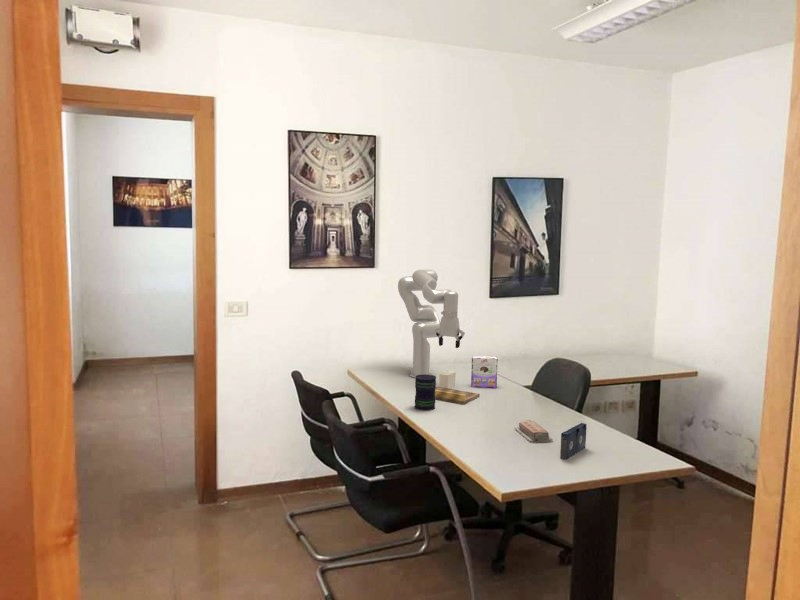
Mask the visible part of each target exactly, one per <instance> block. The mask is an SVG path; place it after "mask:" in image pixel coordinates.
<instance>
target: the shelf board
mask: <svg viewBox="0 0 800 600" xmlns="http://www.w3.org/2000/svg"><path fill="white" fill-rule="evenodd" d="M480 395H481V394H480V393H478V392H477V393H476V392H471V391H465V390H461V389H460V390H459V389H455V388H453V389H452V388H451V389H448V388H442V387H439V386H436V389H435V401H436V400H438V401H442V402H448V403H453V404H458V403H459V405H466V404H469V403H470V402H472V401H474V400H476V399H478V398H479V397H481V396H480ZM477 397H478V398H477ZM475 398H476V399H475Z"/></svg>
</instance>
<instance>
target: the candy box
mask: <svg viewBox="0 0 800 600" xmlns="http://www.w3.org/2000/svg"><path fill="white" fill-rule="evenodd" d="M470 380H471V381H470V388H482V387H488V388H490V389H497V386H498V384H497V383H498V357H497V356H488V355H471V374H470Z"/></svg>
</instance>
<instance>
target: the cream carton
mask: <svg viewBox="0 0 800 600" xmlns="http://www.w3.org/2000/svg"><path fill="white" fill-rule="evenodd" d="M456 373H457V371H449V370H445V371H443V372H441V373H439V383H438V387H442V388H448V389H450V388H451V389H452V387H453V388H455V387H456V375H457V374H456ZM454 386H455V387H454Z"/></svg>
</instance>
